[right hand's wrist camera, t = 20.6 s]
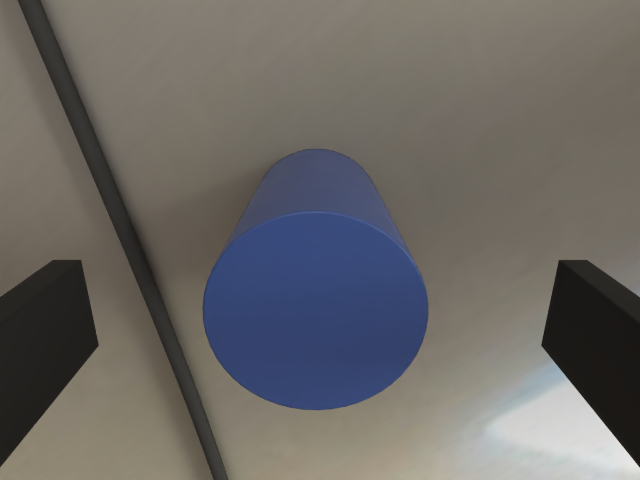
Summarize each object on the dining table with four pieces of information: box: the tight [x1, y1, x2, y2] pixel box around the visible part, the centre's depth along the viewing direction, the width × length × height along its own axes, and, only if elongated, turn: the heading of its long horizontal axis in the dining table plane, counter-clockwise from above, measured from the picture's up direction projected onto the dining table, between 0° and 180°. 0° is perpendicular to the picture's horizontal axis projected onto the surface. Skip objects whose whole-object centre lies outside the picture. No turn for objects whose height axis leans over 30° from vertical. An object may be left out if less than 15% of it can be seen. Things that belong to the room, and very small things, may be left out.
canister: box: [203, 149, 428, 410], centre depth 17 cm, size 6×6×11 cm
